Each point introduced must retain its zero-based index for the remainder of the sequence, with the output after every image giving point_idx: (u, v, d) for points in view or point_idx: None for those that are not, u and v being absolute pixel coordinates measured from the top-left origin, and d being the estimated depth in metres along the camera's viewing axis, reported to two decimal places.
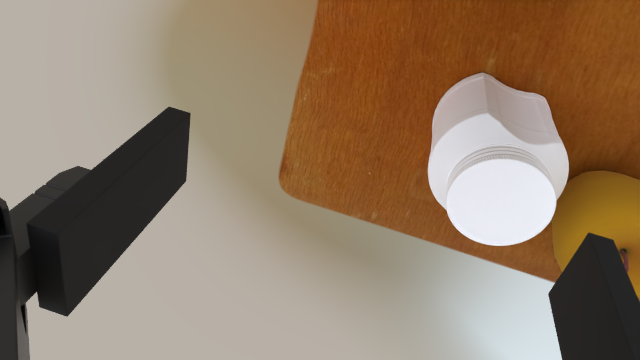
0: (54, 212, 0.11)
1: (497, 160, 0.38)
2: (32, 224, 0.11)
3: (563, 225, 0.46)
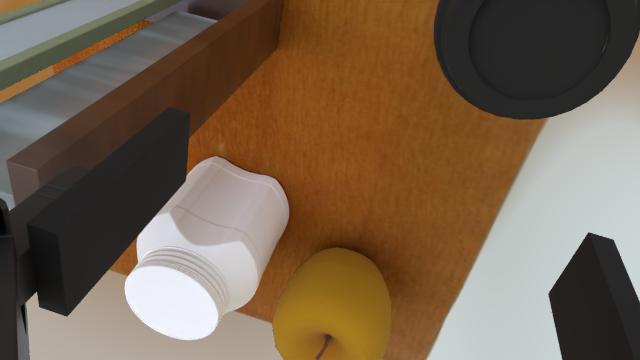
0: (54, 212, 0.11)
1: (152, 267, 0.39)
2: (32, 224, 0.11)
3: (275, 310, 0.47)
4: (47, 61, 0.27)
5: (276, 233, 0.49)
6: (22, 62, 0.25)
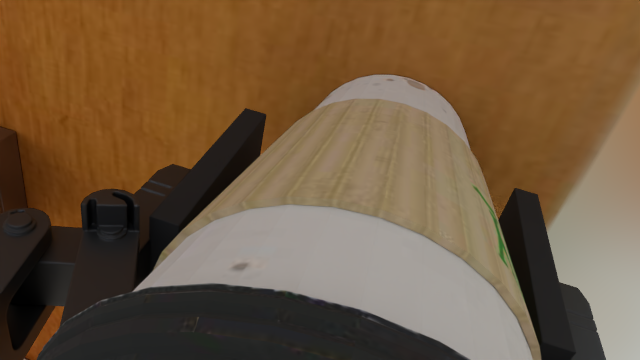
0: (170, 206, 0.12)
1: None
2: (154, 217, 0.12)
3: None
4: None
5: None
6: None
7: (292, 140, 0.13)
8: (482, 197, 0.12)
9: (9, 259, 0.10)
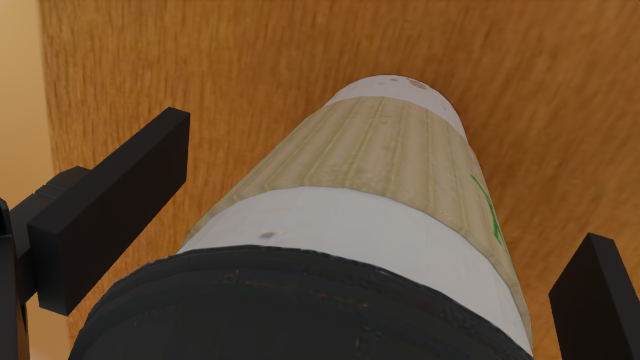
0: (54, 212, 0.11)
1: None
2: (32, 224, 0.11)
3: None
4: None
5: None
6: None
7: (305, 133, 0.14)
8: (479, 185, 0.13)
9: None
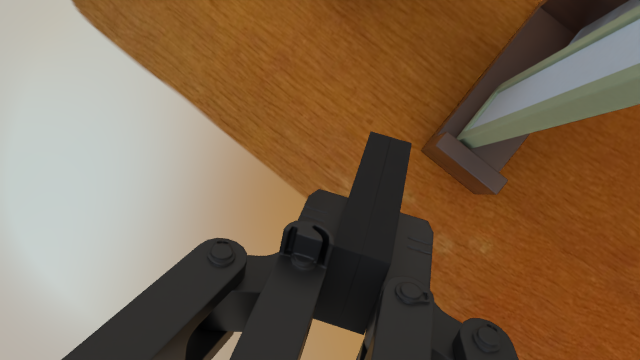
0: (347, 234, 0.13)
1: None
2: (338, 246, 0.12)
3: None
4: None
5: None
6: None
7: None
8: None
9: (204, 289, 0.11)
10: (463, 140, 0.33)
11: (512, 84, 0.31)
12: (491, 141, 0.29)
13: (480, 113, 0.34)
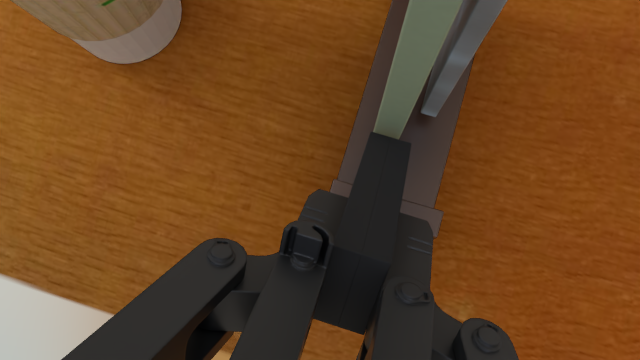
0: (346, 234, 0.13)
1: None
2: (338, 246, 0.12)
3: None
4: None
5: None
6: None
7: None
8: None
9: (204, 289, 0.11)
10: None
11: None
12: None
13: None
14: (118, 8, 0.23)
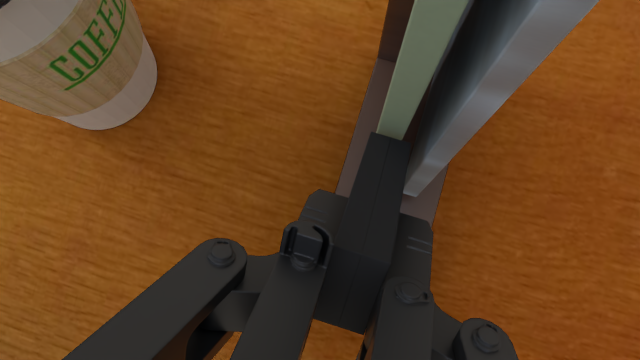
0: (347, 234, 0.13)
1: None
2: (338, 246, 0.12)
3: None
4: None
5: None
6: None
7: None
8: None
9: (204, 288, 0.11)
10: None
11: None
12: None
13: None
14: (83, 90, 0.22)
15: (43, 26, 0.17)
